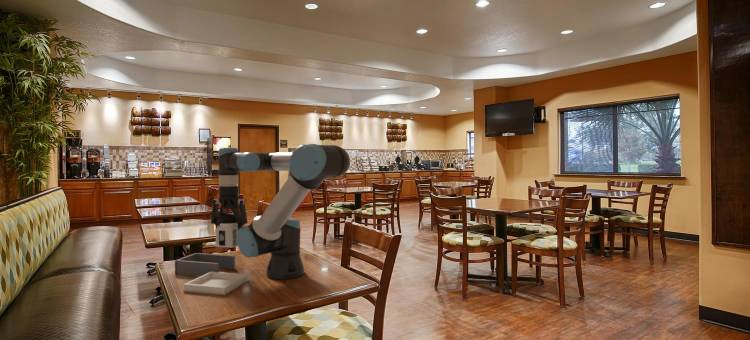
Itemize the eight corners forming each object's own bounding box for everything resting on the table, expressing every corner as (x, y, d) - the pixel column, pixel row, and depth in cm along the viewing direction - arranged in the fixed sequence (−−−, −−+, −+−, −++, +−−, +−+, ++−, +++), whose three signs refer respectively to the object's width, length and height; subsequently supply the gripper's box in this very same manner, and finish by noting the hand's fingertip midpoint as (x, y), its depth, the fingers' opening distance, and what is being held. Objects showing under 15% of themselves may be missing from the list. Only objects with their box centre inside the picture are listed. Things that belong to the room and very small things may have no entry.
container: (232, 247, 157) (232, 215, 157) (215, 247, 159) (214, 214, 159) (243, 243, 165) (242, 212, 165) (226, 243, 166) (225, 212, 166)
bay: (235, 268, 169) (235, 255, 169) (217, 277, 156) (217, 263, 156) (195, 265, 173) (195, 252, 173) (175, 274, 160) (174, 260, 160)
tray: (248, 281, 153) (248, 274, 153) (224, 295, 137) (224, 287, 137) (211, 277, 156) (211, 271, 156) (183, 291, 140) (183, 284, 140)
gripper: (256, 185, 163) (256, 240, 163) (211, 184, 167) (212, 238, 168) (246, 186, 156) (247, 244, 156) (200, 185, 160) (201, 242, 160)
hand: (229, 241), depth 162 cm, fingers closed on container, 8 cm apart
